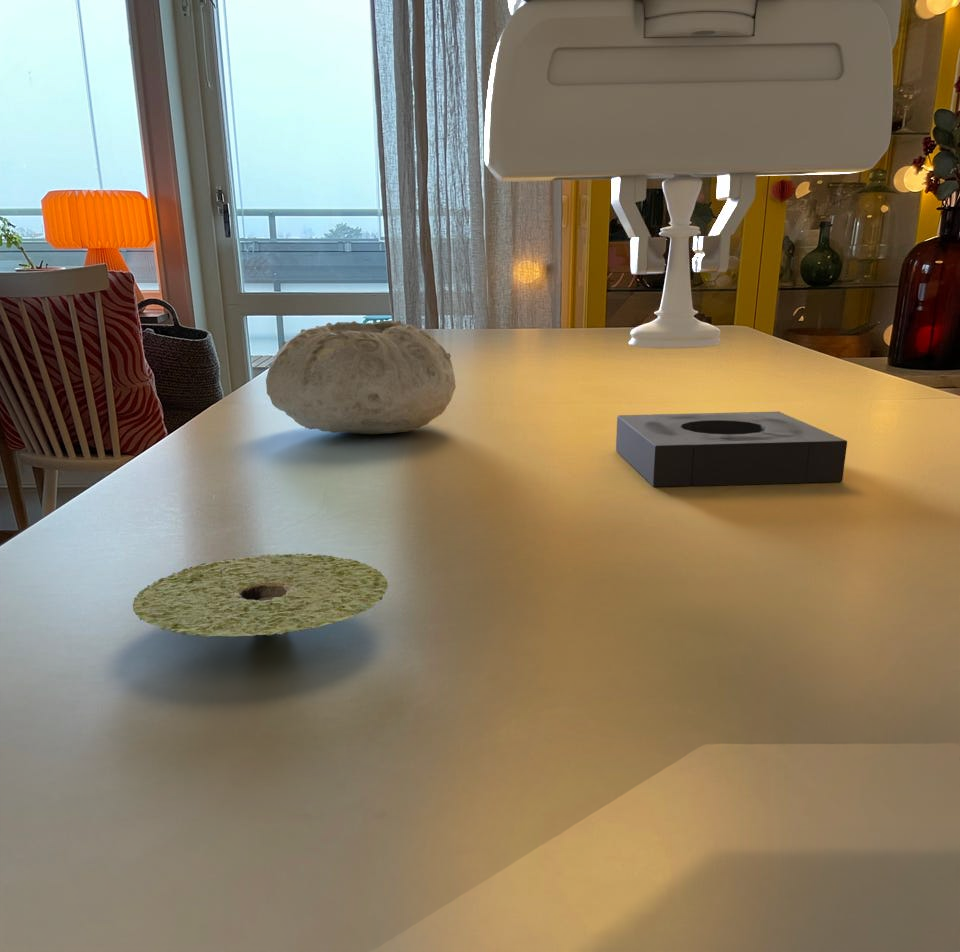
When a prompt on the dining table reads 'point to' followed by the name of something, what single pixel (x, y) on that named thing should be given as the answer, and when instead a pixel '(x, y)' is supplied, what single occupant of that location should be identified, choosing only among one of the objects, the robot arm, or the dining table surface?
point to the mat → (261, 595)
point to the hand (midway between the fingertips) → (678, 273)
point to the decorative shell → (361, 378)
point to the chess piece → (677, 278)
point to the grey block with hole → (728, 449)
